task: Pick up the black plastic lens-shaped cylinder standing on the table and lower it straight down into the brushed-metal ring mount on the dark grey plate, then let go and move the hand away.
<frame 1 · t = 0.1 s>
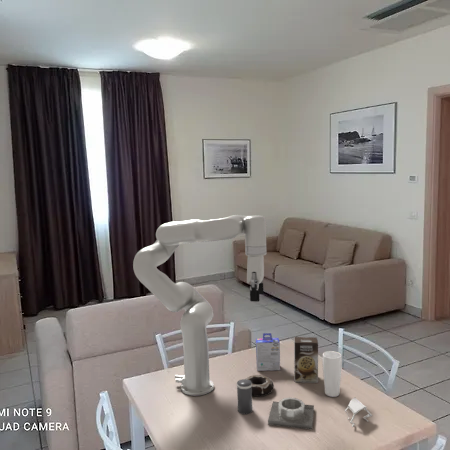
hand: (257, 297, 155), 37 cm above the table, tool pointing down, fingers open, 9 cm apart
ink cartridge box: (268, 368, 180), on the table
mount: (291, 416, 143), on the table
coffee box: (306, 379, 170), on the table
origami figure: (356, 418, 142), on the table
lens: (245, 410, 148), on the table
donut: (258, 390, 162), on the table
drinking glass: (332, 394, 158), on the table
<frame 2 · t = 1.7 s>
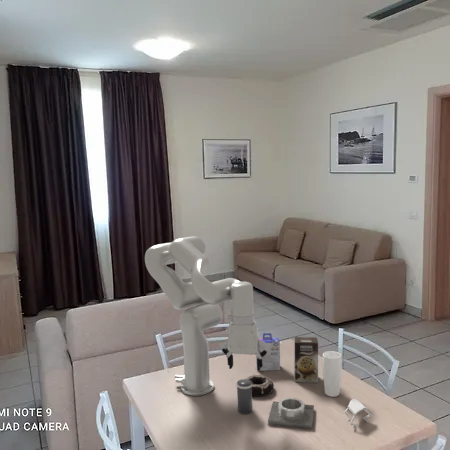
hand: (245, 368, 146), 15 cm above the table, tool pointing down, fingers open, 9 cm apart
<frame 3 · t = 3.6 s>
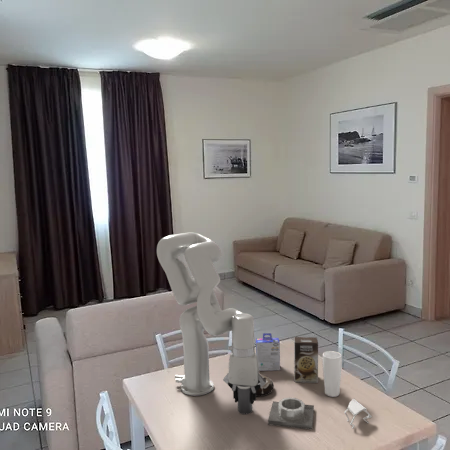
hand: (244, 400, 148), 3 cm above the table, tool pointing down, fingers closed on lens, 5 cm apart
lens: (245, 410, 148), on the table, touching gripper
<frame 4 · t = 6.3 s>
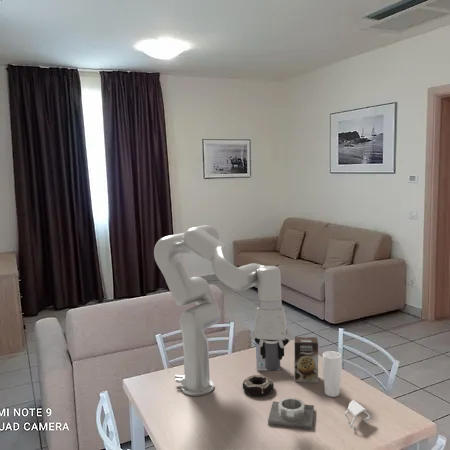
hand: (272, 357, 143), 20 cm above the table, tool pointing down, fingers closed on lens, 5 cm apart
lens: (272, 367, 143), point 17 cm above the table, touching gripper
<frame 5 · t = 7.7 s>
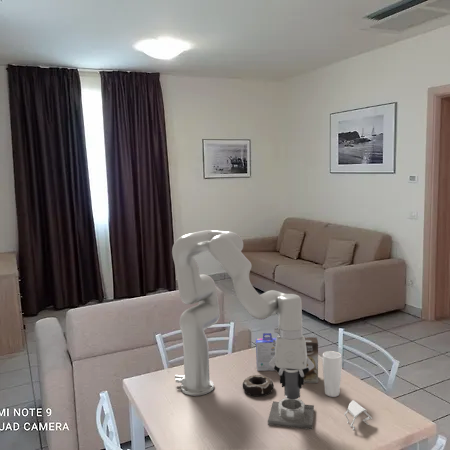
hand: (292, 385, 142), 11 cm above the table, tool pointing down, fingers closed on lens, 5 cm apart
lens: (292, 395, 142), point 8 cm above the table, touching gripper
when the fingers open (6 cm above the table, at t = 9.0 s): lens drops 1 cm, resting on mount.
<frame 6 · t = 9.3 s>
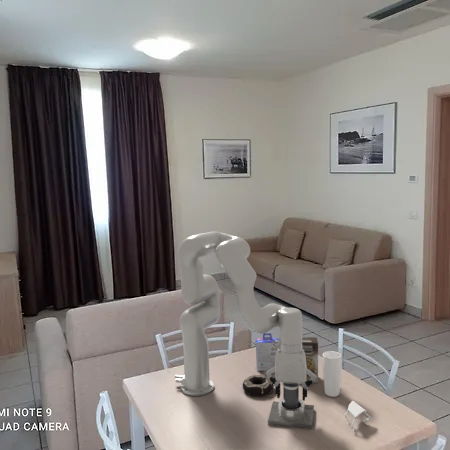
hand: (291, 397, 143), 7 cm above the table, tool pointing down, fingers open, 7 cm apart
lens: (291, 412, 143), point 2 cm above the table, touching mount
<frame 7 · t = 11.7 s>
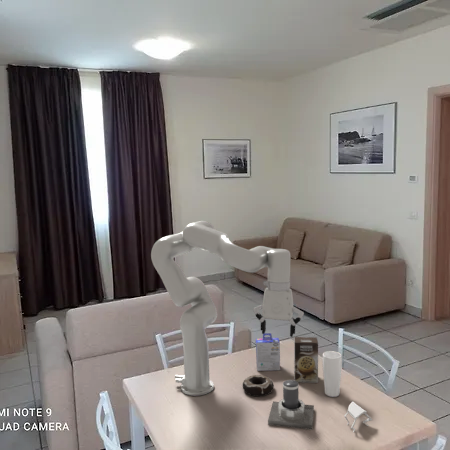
hand: (277, 333, 148), 26 cm above the table, tool pointing down, fingers open, 9 cm apart
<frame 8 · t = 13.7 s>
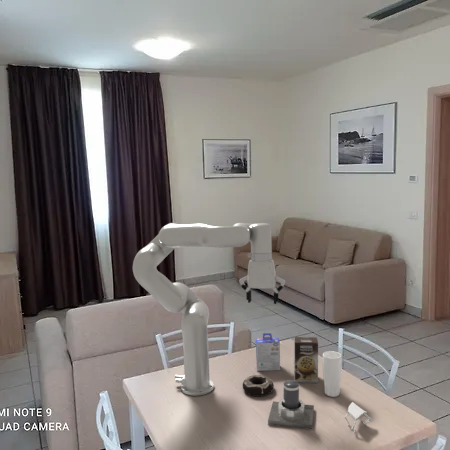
hand: (262, 302, 160), 33 cm above the table, tool pointing down, fingers open, 9 cm apart
at the end: lens 0.2 cm off-centre on the mount, point 1.6 cm above the mount's base; lens tilted 2°; the gripper is holding nothing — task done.
